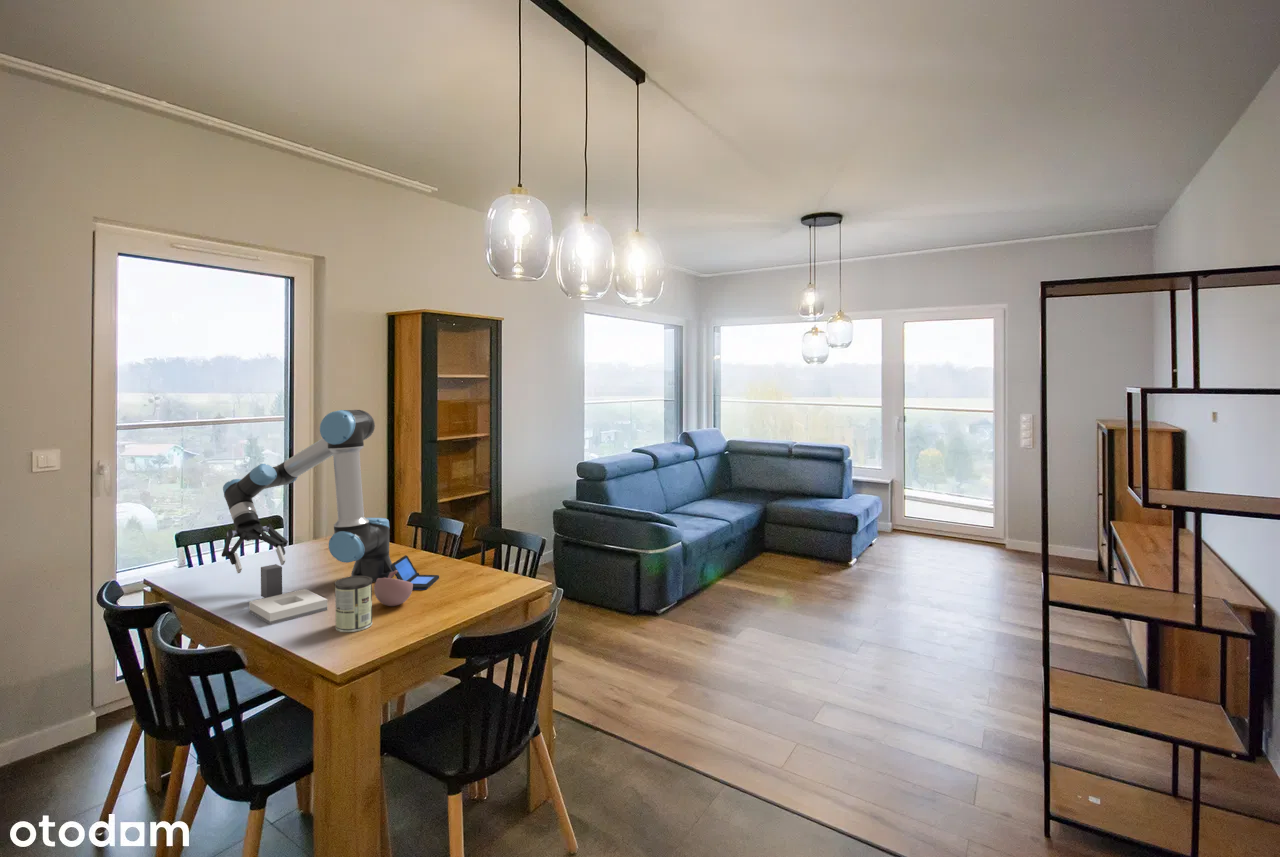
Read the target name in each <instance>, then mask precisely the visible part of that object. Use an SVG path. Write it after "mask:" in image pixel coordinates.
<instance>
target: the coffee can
mask: <svg viewBox="0 0 1280 857" xmlns="http://www.w3.org/2000/svg"><path fill="white" fill-rule="evenodd" d="M372 583H373V582H372V578H371V577H368V576H352V577H351V576H346V577H343V578H340V579H337V580H335V582H334V589H335V593H334V594H335V595H334V596H335V597H334V598H335V599H334V601H335V604H334V605H335V630H336V631H337V632H339V633H355V632H360V631H363V630H367V629H369V628H370V627H371V626H372V625H373V606H372V605H373V593H372V592H373V590H372V589H373V584H372Z"/></svg>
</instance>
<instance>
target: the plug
mask: <svg viewBox="0 0 1280 857" xmlns="http://www.w3.org/2000/svg"><path fill="white" fill-rule="evenodd" d="M281 594H283V567H282V565H278V564H277V563H275V564H269V565H265V566H261V567H260V597H262V598H268V597H272V596H276V595H281Z"/></svg>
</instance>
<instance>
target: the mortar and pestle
mask: <svg viewBox="0 0 1280 857" xmlns="http://www.w3.org/2000/svg"><path fill="white" fill-rule="evenodd" d="M397 572H398V571H397V570H395V571H393V572H390V574H389V576H388V578H378V579H377V580H376V582H374V587H373V588H374V590H373V591H374V595H375V598H376V599H377V600H378V602H380V603H381V604H382V605H384V606H388V607H396V606H399V605H402V604H403V603H405V602H406V601H407V600H409V598H410V597H411V594H412V592H413V590H412V589H413V583H411V582H408V581H404V580H399V579H397V578H393V577H394V576H395V574H396V573H397ZM393 575H394V576H393ZM392 576H393V577H392Z"/></svg>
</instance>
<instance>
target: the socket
mask: <svg viewBox="0 0 1280 857" xmlns="http://www.w3.org/2000/svg"><path fill="white" fill-rule="evenodd" d="M325 611H328V598H325V597H323V596H321V595H319V594H317V593H314V592H313V591H311V590H309V589H307V588H303V589H299V590H295V591H290V592H286V593H282V594H281V595H276V596H272V597H268V598H264V597H262V598H259V599H256V600H251V601H249V613H250V614H252V615H253V616H255V617H256V618H258V619H260V620H262V621H263V622H265V623H266V624H269V625H271V626H272V625H275V624H278V623H282V622H286V621H290V620H293V619H298V618H300V617H301V618H302V617H305V616H309V615H313V614H316V613H321V612H325Z"/></svg>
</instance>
